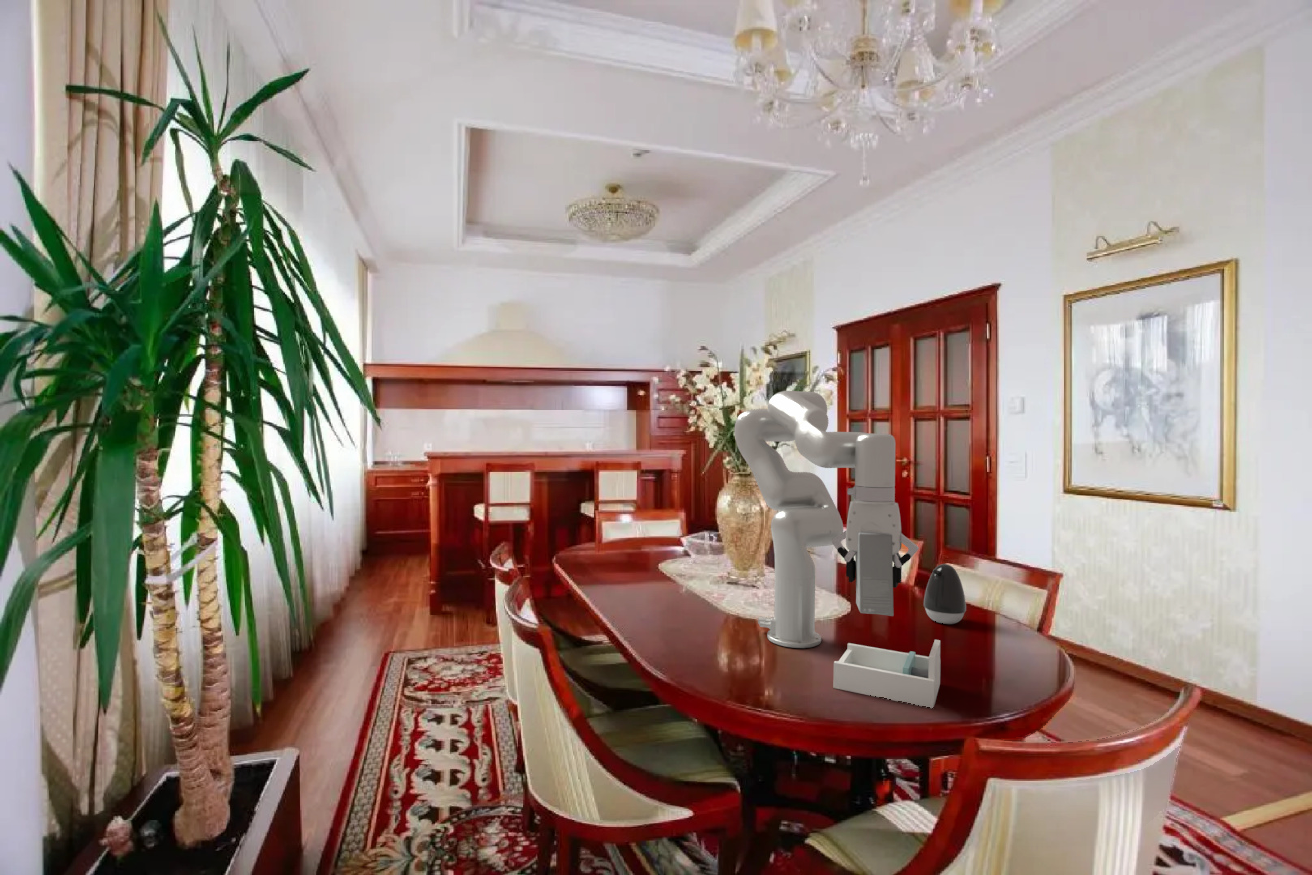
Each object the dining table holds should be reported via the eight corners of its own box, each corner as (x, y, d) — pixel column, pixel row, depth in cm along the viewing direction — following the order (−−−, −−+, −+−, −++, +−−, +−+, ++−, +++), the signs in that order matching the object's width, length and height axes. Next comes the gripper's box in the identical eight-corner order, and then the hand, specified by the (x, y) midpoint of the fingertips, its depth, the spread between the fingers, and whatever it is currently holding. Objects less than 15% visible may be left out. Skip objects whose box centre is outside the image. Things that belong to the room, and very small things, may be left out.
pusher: (902, 692, 119) (902, 667, 119) (909, 674, 127) (910, 651, 127) (926, 697, 117) (927, 671, 116) (932, 678, 125) (932, 654, 125)
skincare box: (894, 617, 121) (897, 535, 121) (855, 613, 122) (858, 532, 122) (888, 605, 129) (891, 528, 129) (851, 602, 131) (854, 525, 130)
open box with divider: (833, 687, 123) (833, 642, 123) (848, 666, 135) (848, 624, 135) (933, 708, 115) (934, 659, 114) (940, 683, 126) (940, 638, 126)
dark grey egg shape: (915, 619, 168) (916, 563, 168) (937, 613, 174) (938, 558, 174) (951, 630, 160) (952, 570, 160) (973, 622, 166) (974, 565, 166)
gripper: (825, 494, 127) (824, 581, 127) (919, 499, 118) (917, 593, 118) (834, 491, 133) (833, 574, 133) (923, 496, 125) (922, 585, 125)
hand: (873, 582), depth 126 cm, fingers closed on skincare box, 7 cm apart
